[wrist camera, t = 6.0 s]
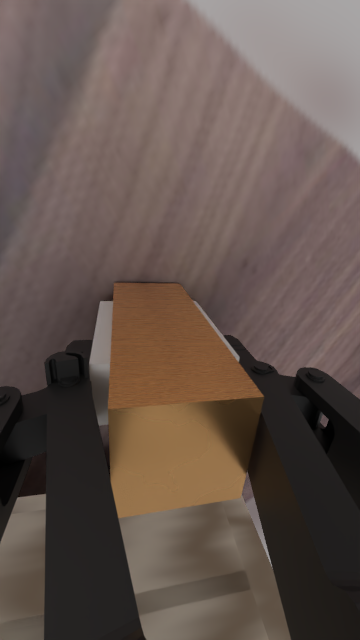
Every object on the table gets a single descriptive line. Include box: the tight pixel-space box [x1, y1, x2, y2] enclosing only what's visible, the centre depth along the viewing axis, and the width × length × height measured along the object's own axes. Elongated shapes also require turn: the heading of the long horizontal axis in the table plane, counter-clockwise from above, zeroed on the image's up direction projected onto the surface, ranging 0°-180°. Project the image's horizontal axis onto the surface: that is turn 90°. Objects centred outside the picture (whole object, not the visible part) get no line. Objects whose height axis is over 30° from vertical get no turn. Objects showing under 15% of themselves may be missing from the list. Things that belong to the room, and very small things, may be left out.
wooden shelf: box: [0, 494, 291, 640], centre depth 16 cm, size 20×8×16 cm, turn 86°
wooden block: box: [108, 283, 264, 518], centre depth 15 cm, size 4×18×11 cm, turn 176°
